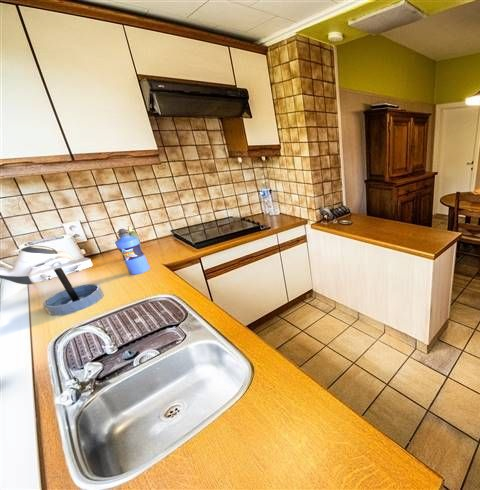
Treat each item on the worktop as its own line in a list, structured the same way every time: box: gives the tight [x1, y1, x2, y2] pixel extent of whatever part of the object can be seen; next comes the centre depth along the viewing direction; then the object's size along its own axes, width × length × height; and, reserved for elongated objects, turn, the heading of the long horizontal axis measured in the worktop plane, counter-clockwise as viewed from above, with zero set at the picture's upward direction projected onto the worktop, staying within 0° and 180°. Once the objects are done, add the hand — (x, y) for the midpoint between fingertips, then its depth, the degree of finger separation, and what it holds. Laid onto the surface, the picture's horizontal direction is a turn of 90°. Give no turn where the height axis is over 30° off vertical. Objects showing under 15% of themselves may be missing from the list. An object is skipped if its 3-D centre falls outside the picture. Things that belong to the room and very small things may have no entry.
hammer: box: [54, 268, 84, 303], centre depth 116 cm, size 6×6×18 cm
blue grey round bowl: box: [42, 283, 105, 317], centre depth 118 cm, size 18×18×6 cm
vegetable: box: [127, 225, 143, 251], centre depth 165 cm, size 4×4×20 cm
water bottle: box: [114, 228, 151, 276], centre depth 144 cm, size 9×9×25 cm
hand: (63, 274), depth 121 cm, fingers open, 8 cm apart
